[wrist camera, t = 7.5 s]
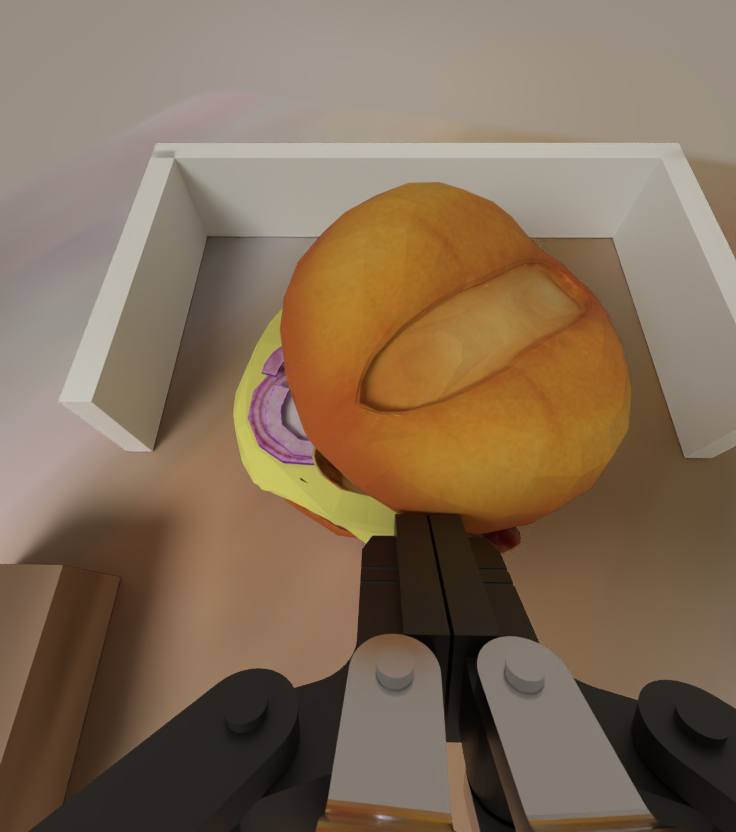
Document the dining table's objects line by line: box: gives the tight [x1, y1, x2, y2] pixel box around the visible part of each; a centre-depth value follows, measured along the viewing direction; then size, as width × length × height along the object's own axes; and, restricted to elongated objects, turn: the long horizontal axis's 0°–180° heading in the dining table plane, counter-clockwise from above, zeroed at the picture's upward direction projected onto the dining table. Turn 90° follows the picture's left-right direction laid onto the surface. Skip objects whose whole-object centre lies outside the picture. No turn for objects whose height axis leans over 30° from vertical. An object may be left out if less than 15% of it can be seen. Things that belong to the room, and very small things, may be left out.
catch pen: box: [58, 143, 736, 458], centre depth 17 cm, size 22×12×4 cm, turn 89°
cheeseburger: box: [233, 182, 632, 554], centre depth 13 cm, size 10×11×10 cm
